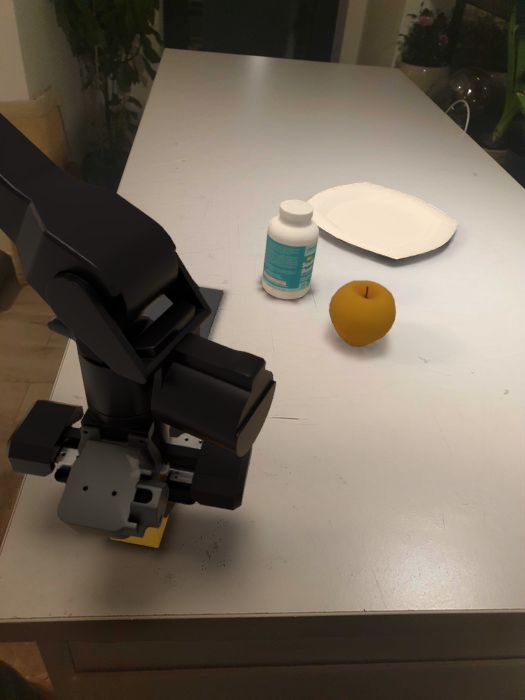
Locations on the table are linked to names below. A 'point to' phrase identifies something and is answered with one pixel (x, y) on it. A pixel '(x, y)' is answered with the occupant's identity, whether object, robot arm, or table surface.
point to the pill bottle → (290, 250)
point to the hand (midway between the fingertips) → (140, 508)
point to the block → (150, 530)
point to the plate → (381, 220)
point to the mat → (209, 295)
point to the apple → (362, 312)
